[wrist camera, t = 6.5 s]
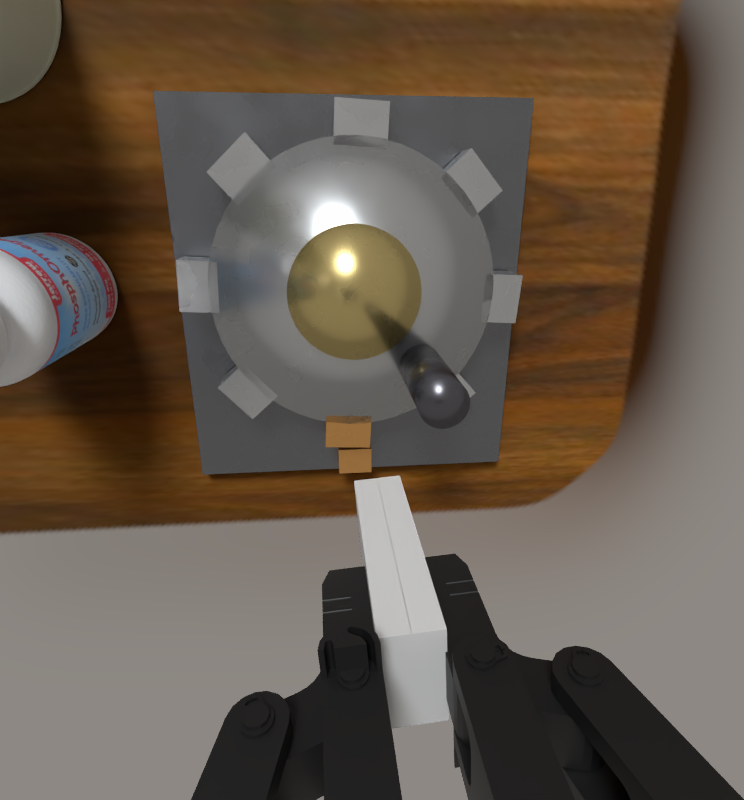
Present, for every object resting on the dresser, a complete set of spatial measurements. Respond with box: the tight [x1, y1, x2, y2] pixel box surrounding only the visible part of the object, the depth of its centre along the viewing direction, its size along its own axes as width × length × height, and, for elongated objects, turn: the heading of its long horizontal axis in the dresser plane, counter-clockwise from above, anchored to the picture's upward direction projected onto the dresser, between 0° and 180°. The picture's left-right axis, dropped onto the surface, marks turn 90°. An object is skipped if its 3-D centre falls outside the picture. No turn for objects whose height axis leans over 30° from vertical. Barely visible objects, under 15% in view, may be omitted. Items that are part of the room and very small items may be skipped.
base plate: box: [153, 91, 534, 475], centre depth 30 cm, size 19×21×2 cm
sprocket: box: [176, 97, 523, 448], centre depth 26 cm, size 18×18×8 cm
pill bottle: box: [0, 233, 118, 386], centre depth 24 cm, size 6×6×11 cm
